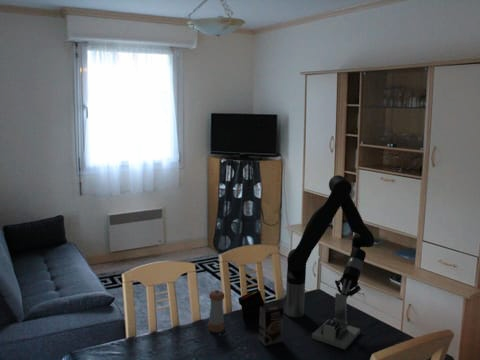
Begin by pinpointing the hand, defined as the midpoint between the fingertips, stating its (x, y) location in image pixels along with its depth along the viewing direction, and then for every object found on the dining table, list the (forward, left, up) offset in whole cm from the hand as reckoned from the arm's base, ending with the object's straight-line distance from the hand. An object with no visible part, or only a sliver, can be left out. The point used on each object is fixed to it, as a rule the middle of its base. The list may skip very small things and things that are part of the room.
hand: (341, 302), depth 220 cm
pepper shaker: (-48, -32, -15) cm, 60 cm away
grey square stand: (0, -4, -15) cm, 15 cm away
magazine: (-40, -14, -15) cm, 45 cm away
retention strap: (0, 0, -8) cm, 8 cm away
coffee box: (-22, -26, -15) cm, 38 cm away
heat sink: (0, -6, -13) cm, 14 cm away
